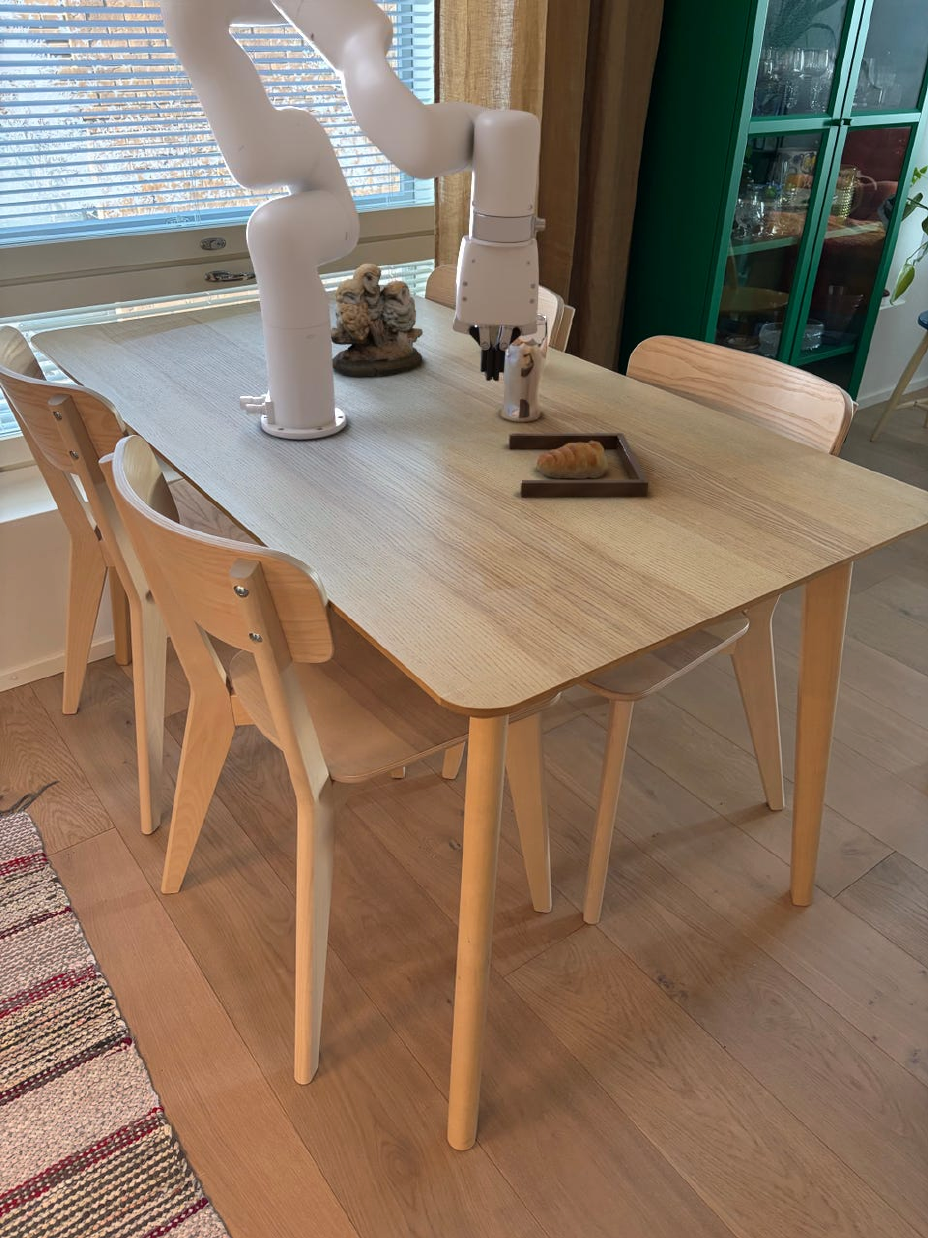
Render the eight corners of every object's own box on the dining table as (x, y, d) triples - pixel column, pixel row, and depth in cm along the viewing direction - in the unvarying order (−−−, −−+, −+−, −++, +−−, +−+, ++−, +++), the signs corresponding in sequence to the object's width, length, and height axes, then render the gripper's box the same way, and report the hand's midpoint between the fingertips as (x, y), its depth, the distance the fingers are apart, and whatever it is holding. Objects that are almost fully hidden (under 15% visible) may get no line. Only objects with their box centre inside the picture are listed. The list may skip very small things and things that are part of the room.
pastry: (546, 484, 127) (548, 457, 125) (528, 465, 132) (529, 439, 130) (610, 477, 129) (613, 450, 127) (590, 458, 135) (592, 432, 133)
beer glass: (539, 425, 145) (545, 325, 137) (494, 420, 146) (497, 321, 138) (545, 409, 151) (551, 312, 143) (501, 405, 152) (505, 309, 144)
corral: (521, 497, 124) (521, 483, 123) (508, 446, 138) (509, 433, 137) (647, 496, 125) (648, 482, 123) (621, 445, 139) (623, 432, 138)
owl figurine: (347, 384, 159) (342, 278, 150) (313, 365, 167) (306, 263, 158) (436, 365, 168) (436, 264, 159) (399, 348, 176) (398, 251, 167)
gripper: (559, 223, 117) (545, 369, 128) (437, 218, 116) (433, 366, 126) (567, 236, 111) (552, 389, 121) (439, 232, 110) (434, 386, 120)
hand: (491, 377), depth 124 cm, fingers closed
